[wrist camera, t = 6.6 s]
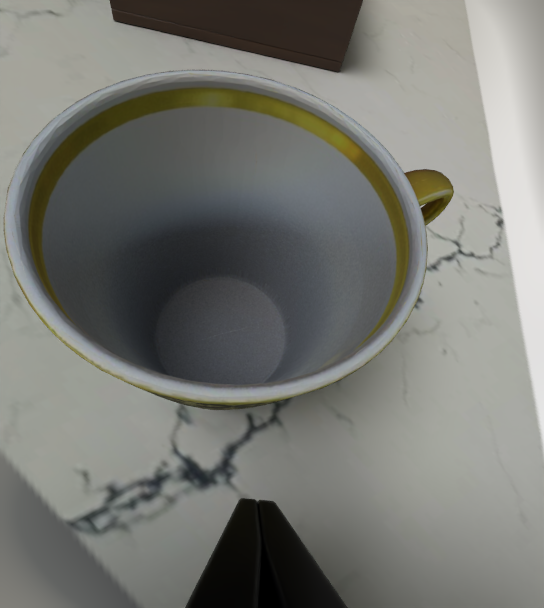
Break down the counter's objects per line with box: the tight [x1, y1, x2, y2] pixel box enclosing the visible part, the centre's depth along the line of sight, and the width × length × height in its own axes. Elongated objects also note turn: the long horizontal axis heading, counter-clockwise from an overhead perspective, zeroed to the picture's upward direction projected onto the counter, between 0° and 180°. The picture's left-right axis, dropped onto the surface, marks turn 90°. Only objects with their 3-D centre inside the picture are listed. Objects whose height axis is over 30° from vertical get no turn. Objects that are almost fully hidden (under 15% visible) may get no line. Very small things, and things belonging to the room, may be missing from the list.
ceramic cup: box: [4, 70, 454, 410], centre depth 13 cm, size 13×10×10 cm
